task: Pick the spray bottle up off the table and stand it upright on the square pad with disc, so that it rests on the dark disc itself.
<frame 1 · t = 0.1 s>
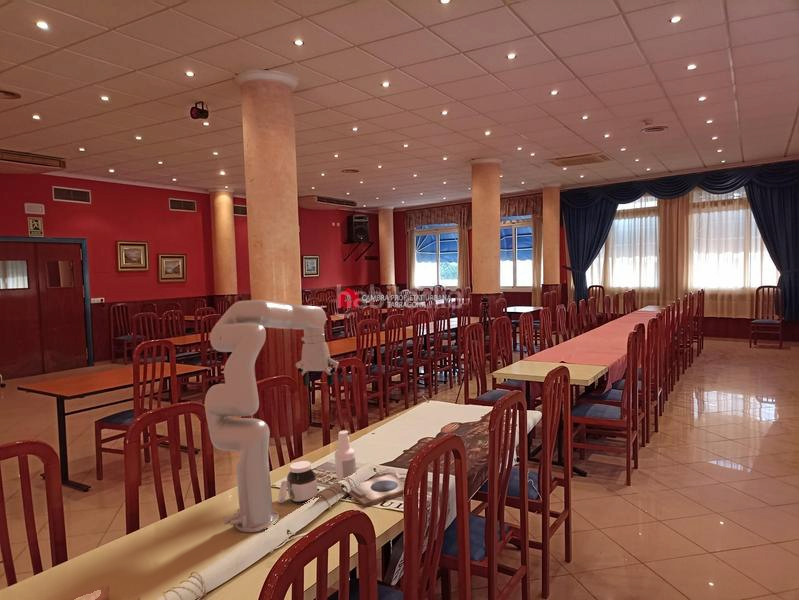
hand: (318, 385, 203), 31 cm above the table, tool pointing down, fingers open, 9 cm apart
spread jar: (297, 501, 176), on the table
square pad with disc: (377, 490, 179), on the table
spray bottle: (347, 483, 188), on the table
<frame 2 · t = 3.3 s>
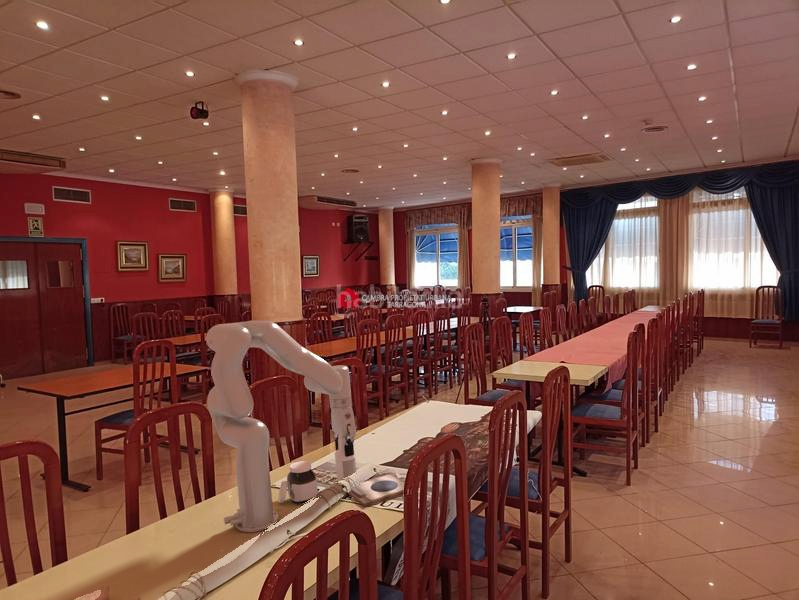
hand: (344, 452, 187), 11 cm above the table, tool pointing down, fingers closed on spray bottle, 6 cm apart
spray bottle: (347, 483, 188), on the table, touching gripper
everything else where it was.
when the fingers open (14 cm above the table, at t = 10.3 s): spray bottle drops 2 cm, resting on square pad with disc.
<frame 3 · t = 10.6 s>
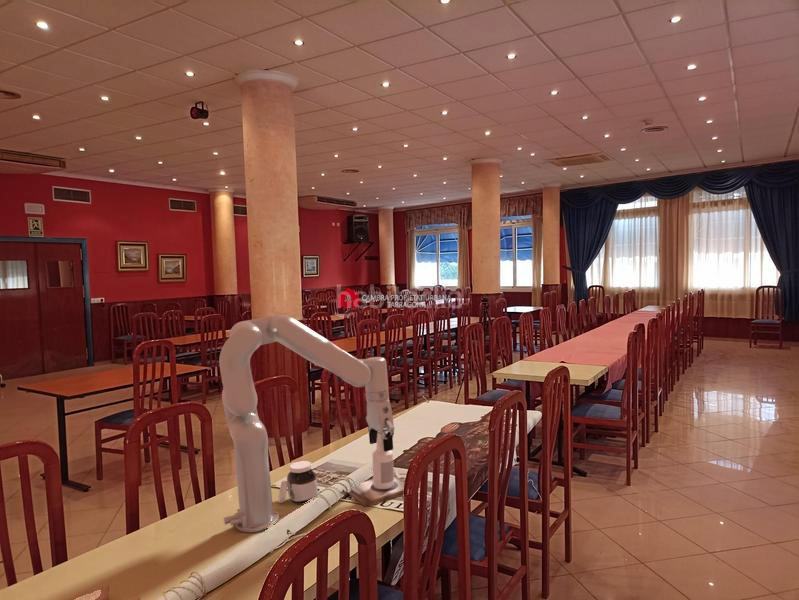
hand: (381, 446, 178), 15 cm above the table, tool pointing down, fingers open, 9 cm apart
spray bottle: (383, 485, 179), point 1 cm above the table, touching square pad with disc
everything else where it was.
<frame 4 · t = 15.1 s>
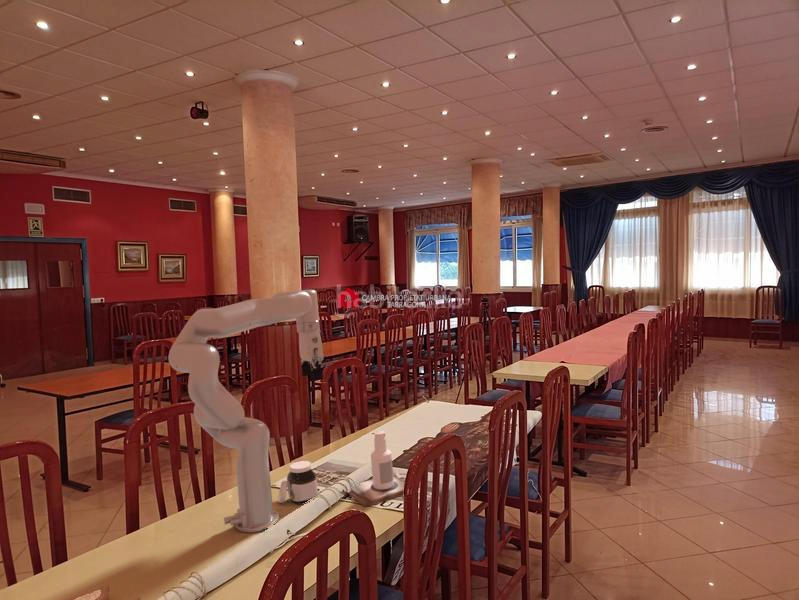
hand: (312, 377, 181), 38 cm above the table, tool pointing down, fingers open, 9 cm apart
nothing on the table moved.
at the end: spray bottle 0.2 cm from the target spot on the square pad with disc, point 1.3 cm above the square pad with disc's base; spray bottle tilted 0°; the gripper is holding nothing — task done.
